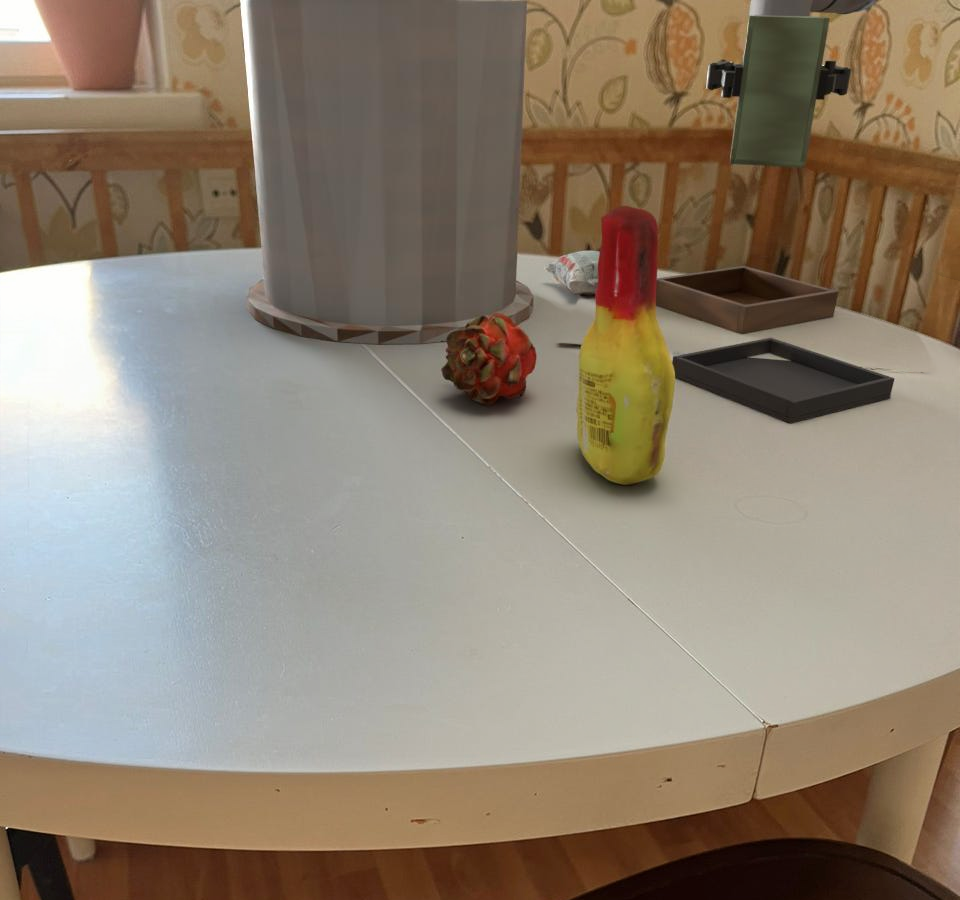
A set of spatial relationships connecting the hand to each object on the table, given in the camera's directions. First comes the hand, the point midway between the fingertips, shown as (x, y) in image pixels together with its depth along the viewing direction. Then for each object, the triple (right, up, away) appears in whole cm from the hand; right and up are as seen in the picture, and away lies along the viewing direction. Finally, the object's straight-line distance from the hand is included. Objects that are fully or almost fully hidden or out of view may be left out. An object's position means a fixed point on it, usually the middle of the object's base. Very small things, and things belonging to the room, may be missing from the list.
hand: (779, 83), depth 109 cm
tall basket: (+1, -4, +8) cm, 9 cm away
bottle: (-20, -44, -23) cm, 54 cm away
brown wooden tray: (+1, -18, +19) cm, 27 cm away
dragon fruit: (-31, -35, -9) cm, 47 cm away
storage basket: (-42, -17, +20) cm, 50 cm away
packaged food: (-18, -13, +27) cm, 35 cm away
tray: (-1, -33, -4) cm, 33 cm away
